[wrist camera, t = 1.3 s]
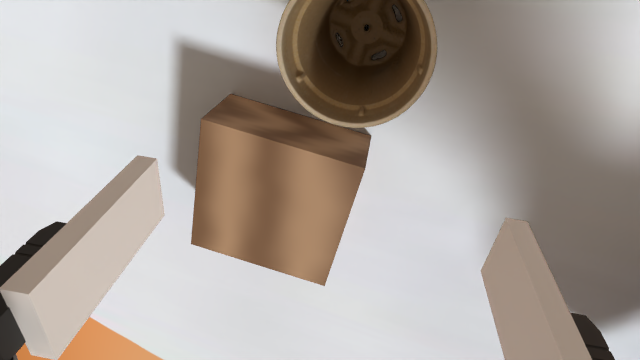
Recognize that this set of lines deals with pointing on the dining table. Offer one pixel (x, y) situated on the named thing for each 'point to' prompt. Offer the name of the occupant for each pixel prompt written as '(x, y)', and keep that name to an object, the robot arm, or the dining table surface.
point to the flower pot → (356, 58)
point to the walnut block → (275, 186)
